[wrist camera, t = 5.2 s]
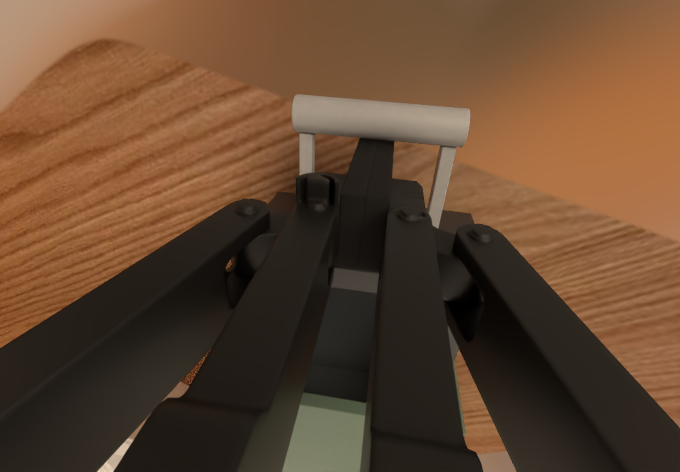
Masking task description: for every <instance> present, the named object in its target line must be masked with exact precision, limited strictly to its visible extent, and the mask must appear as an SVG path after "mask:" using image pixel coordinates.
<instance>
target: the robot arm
mask: <svg viewBox="0 0 680 472" xmlns="http://www.w3.org/2000/svg"><path fill="white" fill-rule="evenodd" d="M393 152H394V141H388V140H378V139H367V138H360V140H359V142H358V145H357V148H356V151H355V153H354V156H353V159H352V162H351V164H350V167H349V170H348V173H347V175H343V174H333V173H317V172H313V173H305V174H302V175H299V176H298V177H297V178H296V204H295V206H294V208H293V209H292V211H291V212H287V213H273V214H270V207H269V205H268V204H267V203H266V202H263V201H260V200H254V199H242V200H239V201H235V202H233V203H231V204H229V205H227V206H225V207H224V208H222V209H221V210H219V211H217V212H216V213H214V214H213V215H211V216H210V217H208V218H206V219H205V220H203V221H202V222H200V223H198V224H197V225H195V226H194V227H192V228H190V229H189V230H187V231H186V232H184V233H183V234H181V235H179V236H178V237H176V238H175V239H173V240H171V241H170V242H168V243H167V244H165V245H163V246H162V247H160V248H159V249H157V250H156V251H154V252H152V253H151V254H149V255H148V256H146V257H144V258H143V259H141V260H140V261H138V262H136V263H135V264H133V265H132V266H130V267H129V268H127V269H125V270H124V271H122V272H121V273H119V274H117V275H116V276H114V277H113V278H111V279H109V280H108V281H106V282H105V283H103V284H102V285H100V286H98V287H97V288H95V289H94V290H92V291H90V292H89V293H87V294H86V295H84V296H82V297H81V298H79V299H78V300H76V301H75V302H73V303H71V304H70V305H68V306H67V307H65V308H63V309H62V310H60V311H59V312H57V313H55V314H54V315H52V316H51V317H49V318H48V319H46V320H44V321H43V322H41V323H40V324H38V325H36V326H35V327H33V328H32V329H30V330H28V331H27V332H25V333H24V334H22V335H21V336H19V337H17V338H16V339H14V340H13V341H11V342H9V343H8V344H6V345H5V346H3V347H1V348H0V472H97V471H98V470H99V469H100V468H101V467H102V466H103V465H104V464H105V463H106V461H107V460H108V459H109V458H110V457H111V456H112V455H113V454H114V453H115V452H116V451H117V450H118V448H119V447H120V446H121V445H122V444H123V443H124V442H125V441H126V440H127V439H128V438H129V437H130V436H131V434H132V433H133V432H134V431H135V430H136V429H137V428H138V427H139V426H140V425H141V424H142V423H143V421H144V420H145V419H146V418H147V417H148V416H149V415H150V416H149V417H148V418H147V420H146V421H145V423H144V424H143V426H142V428H141V429H140V431H139V432H138V434H137V435H136V437H135V439H134V440H133V442H132V443H131V445H130V446H129V448H128V449H127V451H126V453H125V454H124V456H123V457H122V459H121V460H120V462H119V463H118V465H117V467H116V468H115V470H114V471H113V472H282V471H283V467H284V463H285V459H286V455H287V452H288V448H289V444H290V440H291V436H292V433H293V429H294V425H295V421H296V418H297V414H298V410H299V406H300V402H301V399H302V395H303V391H304V387H305V383H306V380H307V376H308V372H309V368H310V365H311V361H312V357H313V353H314V349H315V346H316V342H317V338H318V334H319V330H320V327H321V323H322V319H323V315H324V312H325V308H326V304H327V300H328V296H329V293H330V289H331V285H332V281H333V277H334V267H335V260H336V266H337V267H344V268H352V269H359V270H367V271H374V272H379V278H378V285H377V292H376V308H375V318H374V329H373V339H372V349H371V360H370V370H369V381H368V391H367V401H366V412H365V422H364V432H363V443H362V453H361V463H360V472H483V469H482V465H481V462H480V460H479V458H478V456H477V454H476V452H474V451H472V450H470V449H468V448H467V446H466V444H465V440H464V436H463V429H462V422H461V416H460V409H459V402H458V395H457V388H456V382H455V375H454V368H453V361H452V354H451V348H450V341H449V334H448V327H447V324H448V326H449V328H450V330H451V333H452V335H453V337H454V339H455V341H456V343H457V345H458V347H459V350H460V352H461V354H462V356H463V358H464V360H465V362H466V365H467V367H468V369H469V371H470V373H471V375H472V377H473V379H474V382H475V384H476V386H477V388H478V390H479V392H480V394H481V396H482V399H483V401H484V403H485V405H486V407H487V409H488V411H489V414H490V416H491V418H492V420H493V422H494V424H495V426H496V428H497V431H498V433H499V435H500V437H501V439H502V441H503V443H504V446H505V448H506V450H507V452H508V454H509V456H510V458H511V460H512V463H513V464H514V467H515V469H516V471H517V472H680V428H679V427H678V426H677V424H676V423H675V422H674V421H673V420H672V419H671V418H670V417H669V416H668V415H667V414H666V412H665V411H664V410H663V409H662V408H661V407H660V406H659V405H658V404H657V403H656V402H655V400H654V399H653V398H652V397H651V396H650V395H649V394H648V393H647V392H646V391H645V390H644V388H643V387H642V386H641V385H640V384H639V383H638V382H637V381H636V380H635V379H634V378H633V376H632V375H631V374H630V373H629V372H628V371H627V370H626V369H625V368H624V367H623V365H622V364H621V363H620V362H619V361H618V360H617V359H616V358H615V357H614V356H613V355H612V353H611V352H610V351H609V350H608V349H607V348H606V347H605V346H604V345H603V344H602V343H601V341H600V340H599V339H598V338H597V337H596V336H595V335H594V334H593V333H592V332H591V331H590V329H589V328H588V327H587V326H586V325H585V324H584V323H583V322H582V321H581V320H580V319H579V317H578V316H577V315H576V314H575V313H574V312H573V311H572V310H571V309H570V308H569V307H568V305H567V304H566V303H565V302H564V301H563V300H562V299H561V298H560V297H559V296H558V295H557V293H556V292H555V291H554V290H553V289H552V288H551V287H550V286H549V285H548V284H547V283H546V281H545V280H544V279H543V278H542V277H541V276H540V275H539V274H538V273H537V272H536V271H535V269H534V268H533V267H532V266H531V265H530V264H529V263H528V262H527V261H526V260H525V259H524V257H523V256H522V255H521V254H520V253H519V252H518V251H517V250H516V249H515V248H514V247H513V245H512V244H511V243H510V242H509V241H508V240H507V239H506V238H505V237H504V236H503V235H502V234H501V233H500V232H498V231H497V230H495V229H493V228H491V227H489V226H486V225H485V226H484V225H483V224H464V225H462V226H459V227H458V229H457V231H456V234H453V233H449V232H446V231H443V230H440V229H438V228H436V227H434V226H433V225H432V218H431V217H430V215H429V214H428V213H427V212H425V204H424V196H423V188H422V186H421V185H420V184H419V183H418V182H416V181H409V180H399V179H392V167H393ZM230 259H231V263H232V265H231V266H230V267H229V268H228V269H225V268H226V266H227V263H228V262H229V261H230ZM210 349H211V350H210ZM209 350H210V352H209V354H208V355H207V357H206V359H205V361H204V362H203V364H202V366H201V367H200V369H199V371H198V373H197V374H196V376H195V378H194V379H193V381H192V383H191V385H190V386H189V388H188V389H187V391H186V392H185V393H184V394H183V395H182V396H181V397H179V398H166V397H167V396H168V394H169V393H170V392H171V391H172V390H173V389H174V388H175V387H176V386H177V385H178V384H179V383H180V381H181V380H182V379H183V378H184V377H185V376H186V375H187V374H188V373H189V372H190V371H191V370H192V368H193V367H194V366H195V365H196V364H197V363H198V362H199V361H200V360H201V359H202V358H203V357H204V356H205V354H206V353H207V352H208V351H209ZM165 398H166V399H165ZM164 399H165V400H164ZM163 400H164V401H163Z"/></svg>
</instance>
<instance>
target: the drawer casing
mask: <svg viewBox="0 0 680 472" xmlns="http://www.w3.org/2000/svg"><path fill="white" fill-rule="evenodd" d="M453 368H454V375H455V382H456V388H457V395H458V402H459V409H460V416H461V422H462V429H463V436H464V437H465V434H466V431H465V425H464V420H463V414H462V407H461V401H460V394H459V388H458V382H457V375H456V369H455V363H454V364H453ZM365 412H366V403H364V402H358V401H352V400H346V399H341V398H335V397H329V396H323V395H317V394H311V393H305V392H303V395H302V399H301V402H300V406H299V410H298V414H297V418H296V421H295V425H294V429H293V433H292V436H291V440H290V444H289V448H288V452H287V455H286V459H285V463H284V467H283V471H282V472H360V463H361V453H362V443H363V432H364V422H365Z"/></svg>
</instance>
